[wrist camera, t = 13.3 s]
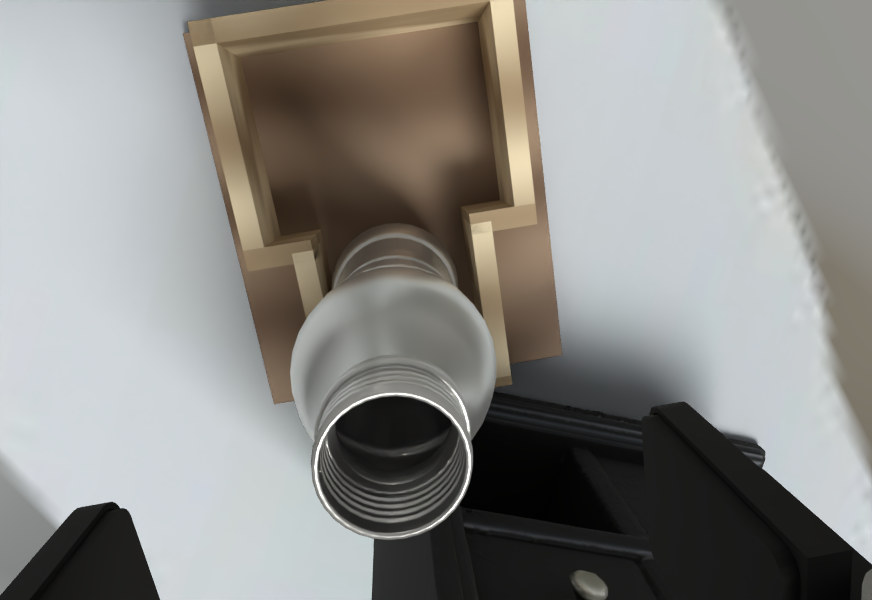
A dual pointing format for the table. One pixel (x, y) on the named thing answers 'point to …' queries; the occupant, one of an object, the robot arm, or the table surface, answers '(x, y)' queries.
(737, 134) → the table surface
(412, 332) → the plastic bottle
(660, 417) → the robot arm
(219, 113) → the keyhole plate
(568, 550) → the black drawer cabinet
